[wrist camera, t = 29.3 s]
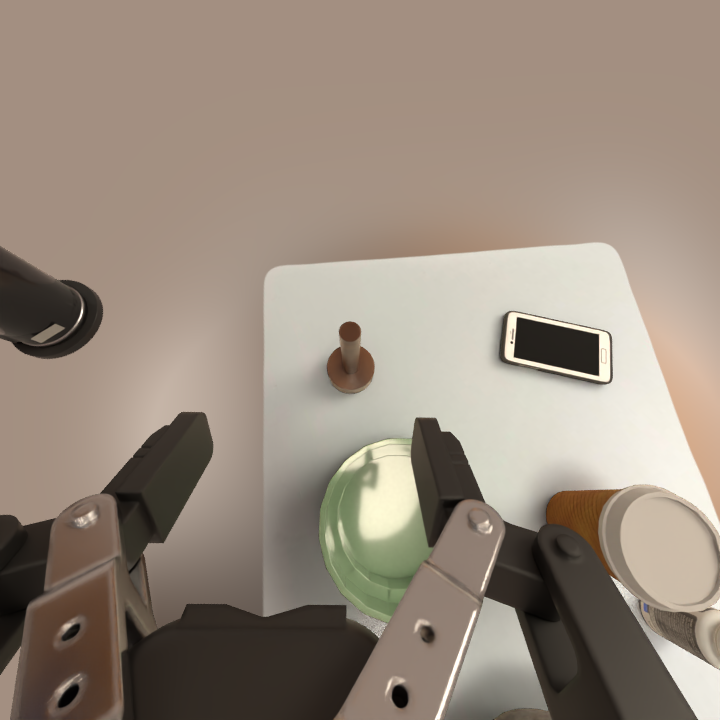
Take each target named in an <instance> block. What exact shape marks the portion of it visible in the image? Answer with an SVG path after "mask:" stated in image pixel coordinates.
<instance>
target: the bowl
mask: <svg viewBox="0 0 720 720" xmlns="http://www.w3.org/2000/svg"><path fill="white" fill-rule="evenodd" d="M493 720H552V719H551V716H550V713H549V711H544V710H540V709H514V710H510V711H507V712H504V713H502V714H501V715H500V716H498V717H497V718H495V719H493Z"/></svg>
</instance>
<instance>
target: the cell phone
mask: <svg viewBox="0 0 720 720" xmlns="http://www.w3.org/2000/svg"><path fill="white" fill-rule="evenodd" d="M544 318H545V317H540V316H535V315H531V314H526V313H522V312H516V311H509V312H508V313H506V314H505V317H504V323H503V333H502V343H501V359H502V361H504V362H506V363H509V364H513V365H521V366H526V367H530V368H535V369H538V370H540V371H544V372H549V373H553V374H558V375H562V376H567V377H571V378H576V379H580V380H585V381H589V382H593V383H598V384H608V383H611V381H612V378H613V367H612V337H611V334H610V333H609V332H607V331H604V330H600V329H595V328H591V327H586V326H582V325H577V324H572V323H568V322H563V321H558V320H554V319H549V318H545V319H544Z"/></svg>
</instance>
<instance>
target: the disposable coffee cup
mask: <svg viewBox="0 0 720 720" xmlns="http://www.w3.org/2000/svg"><path fill="white" fill-rule="evenodd" d="M546 518H547V523H548V524H559V525H562V526H565V527H567V528H570V529H571V530H573V531H575V532H576V533H578V534H579V535H580V536H582V537H583V538H584V539H585V540H586V541H587V542H588V543H589V544H590V545H591V547H592V548H593V549H594V551H595V553H596V554H597V556H598V557H599V559H600V561H601V562H602V564H603V566H604V567H605V569H606V570H607V572H608V574H609V575H610V576H612V577H613V578H615V579H616V580H618V581H619V582H621V584H622V585H623V586H624V587H625V588H626V589H627V590H628V591H629V592H630V593H632V594H633V595H634V596H636V597H637V598H638V599H640V600H641V601H642V602H644V603H646V604H647V605H650V606H652V607H655V608H657V609H660V610H663V611H669V612H687V613H688V612H696V611H703V610H705V609H707V608H708V607H710V606H712V605H714V604H715V603H716V602H717V601H718V599H719V598H720V535H719V533H718V532H717V530H716V529H715V527H714V525H713V524H712V523H711V521H710V520H709V519H708V518H707V517H706V515H705V514H704V513H703V512H702V511H700V510H699V509H698V508H697V507H696V506H694V505H693V504H692V503H690V502H688V501H687V500H685V499H683V498H681V497H679V496H677V495H676V494H674V493H672V492H670V491H668V490H666V489H664V488H660V487H657V486H653V485H633V486H630V487H627V488H624V489H620V490H618V489H616V490H584V491H583V490H581V491H562V492H559V493H557V494H555V495H554V496H553V497H552V498H551V500H550V501H549V503H548V506H547V511H546Z"/></svg>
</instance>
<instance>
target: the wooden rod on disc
mask: <svg viewBox="0 0 720 720" xmlns="http://www.w3.org/2000/svg"><path fill="white" fill-rule="evenodd" d="M339 336H340V345H341V347H339V348H337V349H336V350H335V351H334V352H333V353H332V354H331V356H330V357H329V360H328V363H327V371H328V375H329V378H330V381H331V383H332V384H333V386H334V387H335V388H336V389H338V390H339V391H341V392H344V393H348V394H353V393H358V392H361V391H362V390H364V389H365V388H366V387H368V385H369V384H370V382H371V380H372V378H373V374H374V368H375V366H374V360H373V358H372V356H371V354H370V353H369V352H368V351H367V350H366V349H364V348H363V347H361V346H360V341H361V329H360V327H359V325H358V324H356V323H355V322H346V323H344V324H342V325H341V327H340V329H339Z"/></svg>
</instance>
